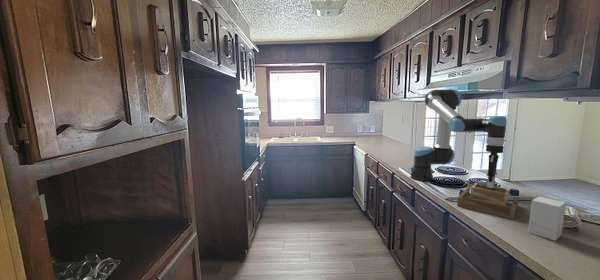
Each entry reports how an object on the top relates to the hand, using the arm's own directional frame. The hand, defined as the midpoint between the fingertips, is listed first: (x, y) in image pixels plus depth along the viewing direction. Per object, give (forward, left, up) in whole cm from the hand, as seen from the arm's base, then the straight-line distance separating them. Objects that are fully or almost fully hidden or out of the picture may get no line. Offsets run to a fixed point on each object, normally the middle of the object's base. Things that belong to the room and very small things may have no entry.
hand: (490, 186), depth 142 cm
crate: (0, 0, -8) cm, 8 cm away
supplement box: (+23, +23, -10) cm, 34 cm away
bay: (+4, 0, -10) cm, 11 cm away
